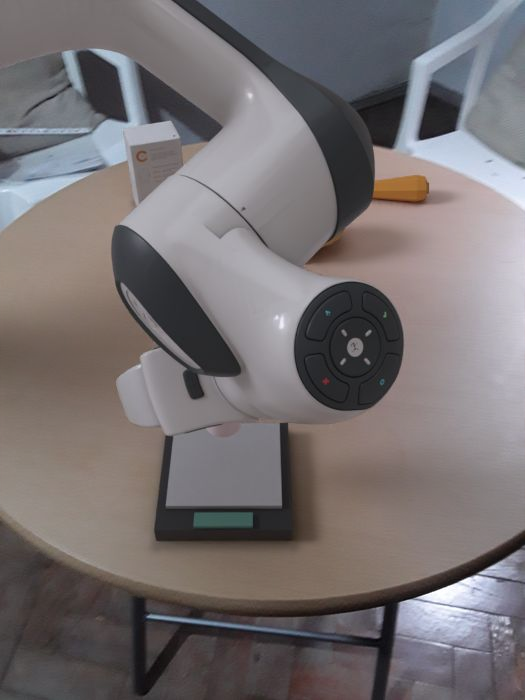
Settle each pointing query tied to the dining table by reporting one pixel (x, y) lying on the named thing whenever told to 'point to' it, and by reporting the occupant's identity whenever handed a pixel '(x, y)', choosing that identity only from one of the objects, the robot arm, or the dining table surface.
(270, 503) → the scale
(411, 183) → the carrot
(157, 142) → the small box
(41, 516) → the dining table surface
